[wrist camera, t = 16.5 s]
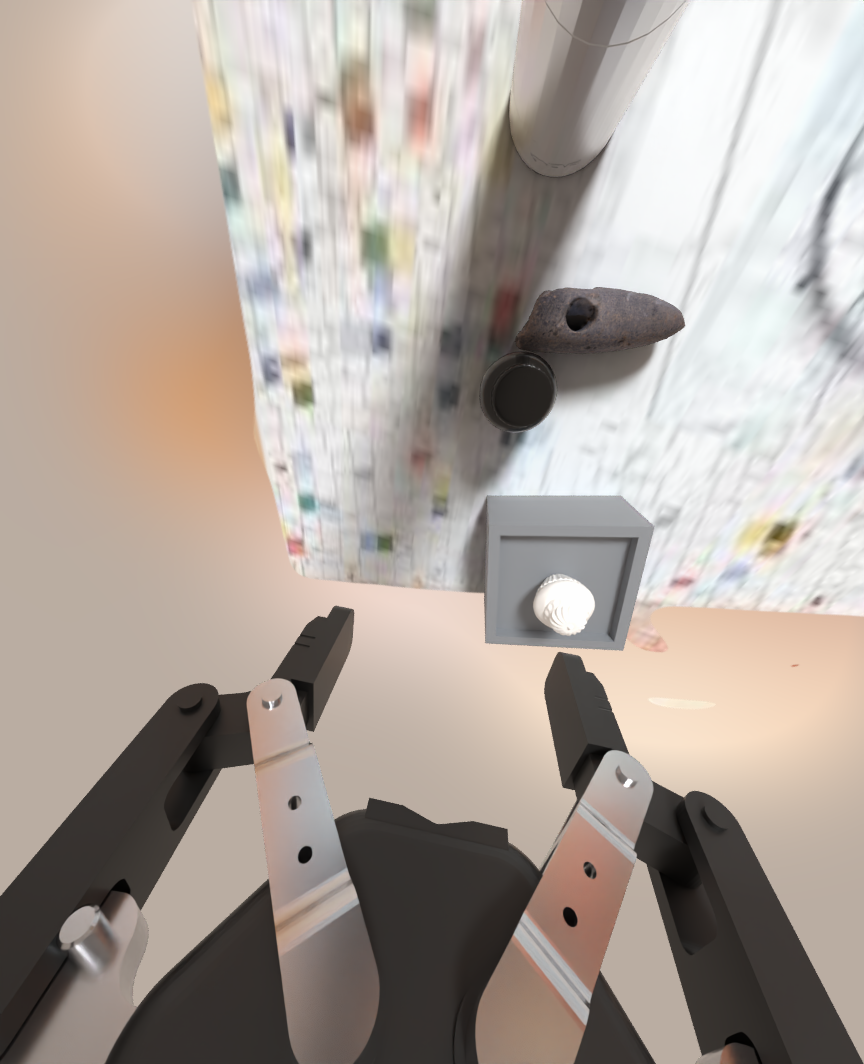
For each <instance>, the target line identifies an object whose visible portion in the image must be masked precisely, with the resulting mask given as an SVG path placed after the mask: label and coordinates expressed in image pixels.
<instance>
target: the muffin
mask: <svg viewBox="0 0 864 1064" xmlns="http://www.w3.org/2000/svg"><path fill="white" fill-rule="evenodd" d="M533 608H534V612H535V615H536V617H537V618H538V619H539V620H540V621H541V622H542V623H543V624H545V625H546V626H548V627H550V628H553V630H554V631H555V632H557V633H559V634H561V635H567V636H570V635H571V634H573V635H575V634H576V633H580V632H581V630H582V629H584V628H585V626H584V625H585V624H587V621H588V619H589V618H590V617H591V615H592V613H593V611H594V608H595V601H594V598H593V595H592V593H591V592H590V591H589V589H587V588H586V587H585V586H584V585H583V584H581V583H580V582H579V581H577V580H575V579H573V578H571V577H569V576H566V575H563V574H555V575H554V574H553V575H552V576H551V575H550V577H547V578H546V579H545V580H544V582H543V583H542V584H541V586H540V587H539V589H538V591H537V592H536V596H535V598H534V602H533Z"/></svg>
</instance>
